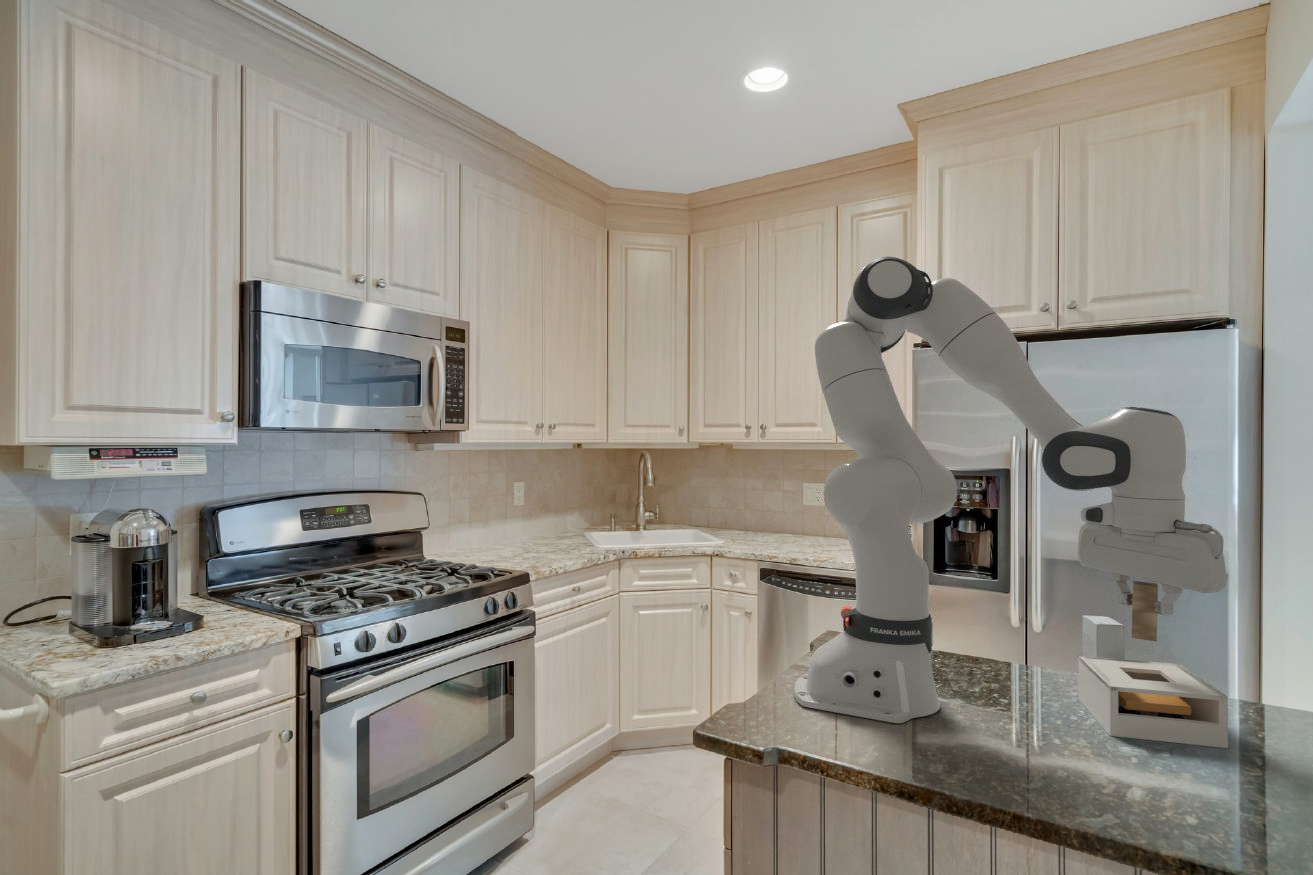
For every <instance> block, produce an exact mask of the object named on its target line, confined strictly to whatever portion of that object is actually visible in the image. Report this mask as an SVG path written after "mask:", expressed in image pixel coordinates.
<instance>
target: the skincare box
mask: <svg viewBox="0 0 1313 875" xmlns="http://www.w3.org/2000/svg"><path fill="white" fill-rule="evenodd" d="M1081 626H1082V631H1081V632H1082V636H1081V637H1082V646H1081V647H1082V649H1081V650H1082V653H1081V654H1082V656H1083V657H1096V658H1108V659H1121V660H1125V625H1124V624H1122V623H1120V622H1118V621H1117V620H1115V619H1113V618H1111V617H1109V616H1102V615H1101V616H1098V615H1082V625H1081Z"/></svg>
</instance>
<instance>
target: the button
mask: <svg viewBox="0 0 1313 875" xmlns="http://www.w3.org/2000/svg"><path fill="white" fill-rule="evenodd" d="M1118 702H1120V703H1121V704H1122V705H1123V706H1122V707H1123V708H1124V709H1125V710H1132V711H1137V712H1139V714H1140V715H1145V716H1156V717H1159V716H1158V715H1159V714H1158V713H1163V714H1175V715H1180V714H1183V715H1191V706H1190V705H1188V704H1187V703H1186V702H1185V701H1183V700H1182V699H1181V698H1179V697H1177V696H1166V695H1154V694H1143V693H1132V692H1121V691H1118Z"/></svg>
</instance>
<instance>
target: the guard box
mask: <svg viewBox="0 0 1313 875" xmlns="http://www.w3.org/2000/svg"><path fill="white" fill-rule="evenodd" d="M1077 658H1078V666H1077V667H1078V672H1077V674H1078V675H1077V676H1078V677H1077V678H1078V694H1077V696H1078V699H1077V700H1078V701H1079V702H1080V703H1081V705H1083V706H1084V708H1085V709H1086V710H1087V711H1088V712H1089V713H1090V715H1091V716H1092V717H1093V718H1094V719H1095V720H1096V721H1097V722H1098V724H1099V725H1100V726H1101V727H1102V728H1103V729H1104V730H1105V732H1106V733H1107V734H1108V735H1109V736H1110V737H1119V738H1127V739H1136V740H1137V739H1138V740H1147V741H1157V742H1165V743H1167V742H1168V743H1176V744H1185V745H1194V746H1196V745H1197V746H1203V747H1204V746H1205V747H1211V748H1213V747H1215V748H1222V749H1229V696H1228V695H1226V694H1224V692H1222V691H1220V690H1219V689H1217V688H1216V687H1215V686H1212V684H1210V683H1209V682H1207V681H1206V680H1204V679H1203V678H1201V677H1200V676H1198V675H1196V674H1195V673H1194V672H1192V671H1191V670H1190V669H1188V668H1186V667H1185V666H1183V665H1182V664H1181V663H1170V662H1160V661H1159V662H1158V661H1157V662H1156V661H1143V660H1134V659H1133V660H1132V659H1124V660H1121V659H1108V658H1096V657H1083V656H1080V655H1078V656H1077ZM1118 691H1121V692H1132V693H1143V694H1154V695H1166V696H1177V697H1179V698H1181V699H1182V700H1183V701H1185V702H1186V703H1187V704H1188V705H1190V706H1191V715H1183V714H1179V715H1180V716H1181V717H1182V718H1173V717H1163V716H1152V715H1142V714H1134V713H1124V712H1123V713H1122V712H1119V706H1121V707H1124V706H1123V705H1122V704H1121V703H1120V702H1118Z"/></svg>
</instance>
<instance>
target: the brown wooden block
mask: <svg viewBox="0 0 1313 875" xmlns="http://www.w3.org/2000/svg"><path fill="white" fill-rule="evenodd" d="M1158 584H1159V583H1156V582H1150V581H1139V580H1132V593H1133V601H1132V605H1131V606H1132V608H1131V611H1132V612H1131V639H1137V640H1143V641H1149V642H1157V641H1158V639H1157V638H1158V636H1157V635H1158V613H1155V611H1154V609H1155V606H1154V602H1155V601H1159V585H1158Z"/></svg>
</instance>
